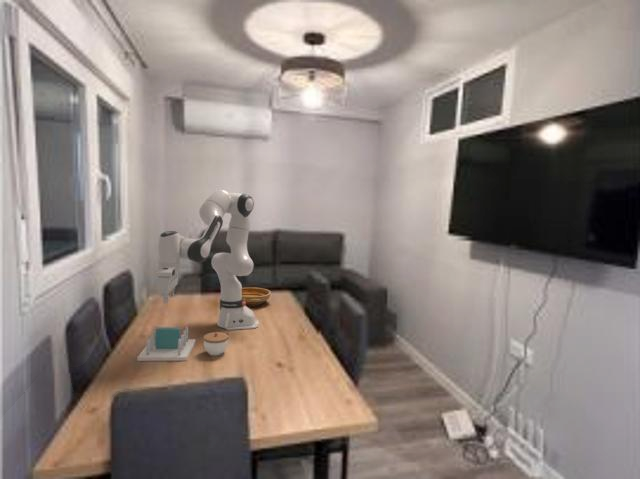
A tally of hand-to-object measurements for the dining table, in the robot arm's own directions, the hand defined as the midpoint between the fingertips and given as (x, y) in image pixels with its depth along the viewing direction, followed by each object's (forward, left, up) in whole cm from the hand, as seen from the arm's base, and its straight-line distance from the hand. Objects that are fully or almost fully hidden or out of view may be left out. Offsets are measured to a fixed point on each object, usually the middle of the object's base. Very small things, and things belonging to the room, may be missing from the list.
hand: (168, 299), depth 170 cm
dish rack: (0, 0, -24) cm, 24 cm away
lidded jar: (-21, +2, -24) cm, 32 cm away
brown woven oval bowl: (-34, -76, -24) cm, 87 cm away
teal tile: (0, 0, -22) cm, 22 cm away
